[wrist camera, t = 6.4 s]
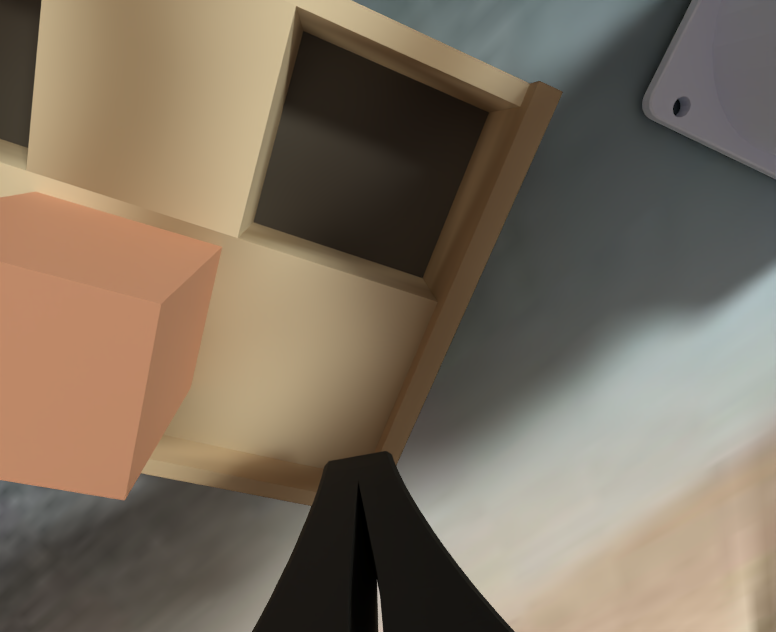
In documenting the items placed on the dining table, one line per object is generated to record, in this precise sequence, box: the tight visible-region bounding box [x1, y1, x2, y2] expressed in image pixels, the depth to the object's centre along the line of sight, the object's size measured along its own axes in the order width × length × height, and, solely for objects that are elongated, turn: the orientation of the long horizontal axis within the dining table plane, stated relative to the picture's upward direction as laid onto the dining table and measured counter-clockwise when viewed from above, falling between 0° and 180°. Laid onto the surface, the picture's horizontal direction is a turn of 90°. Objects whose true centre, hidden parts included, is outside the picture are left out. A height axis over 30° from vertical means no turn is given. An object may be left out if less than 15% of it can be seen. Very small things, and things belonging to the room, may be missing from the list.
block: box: [0, 192, 222, 500], centre depth 9 cm, size 4×4×4 cm
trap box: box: [0, 0, 563, 506], centre depth 10 cm, size 18×12×5 cm
